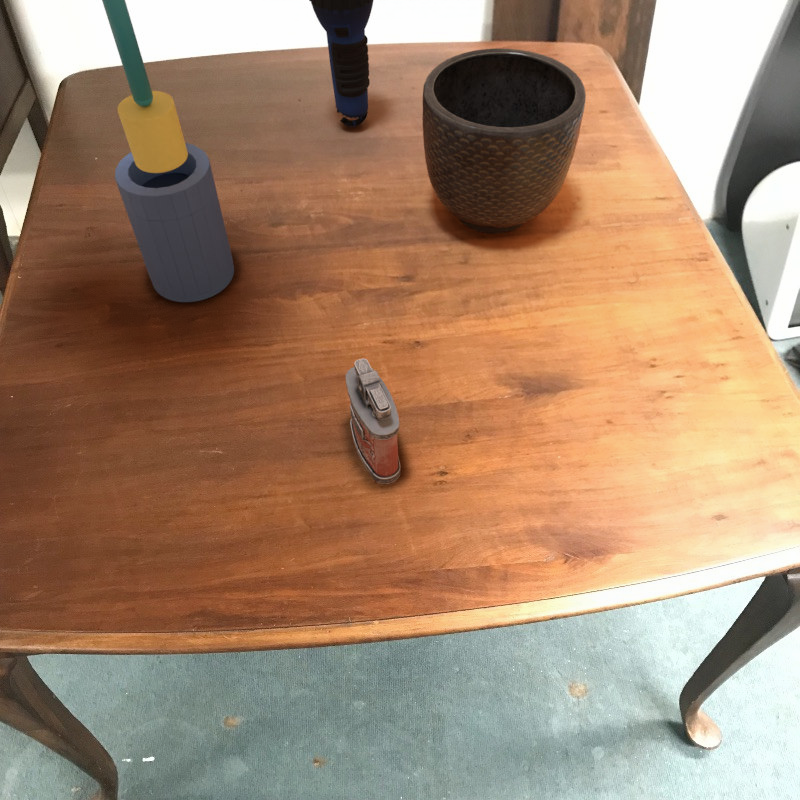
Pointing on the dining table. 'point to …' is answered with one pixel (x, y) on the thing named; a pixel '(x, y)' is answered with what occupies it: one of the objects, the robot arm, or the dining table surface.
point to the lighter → (373, 422)
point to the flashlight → (347, 54)
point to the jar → (178, 226)
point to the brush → (144, 103)
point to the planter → (500, 134)
